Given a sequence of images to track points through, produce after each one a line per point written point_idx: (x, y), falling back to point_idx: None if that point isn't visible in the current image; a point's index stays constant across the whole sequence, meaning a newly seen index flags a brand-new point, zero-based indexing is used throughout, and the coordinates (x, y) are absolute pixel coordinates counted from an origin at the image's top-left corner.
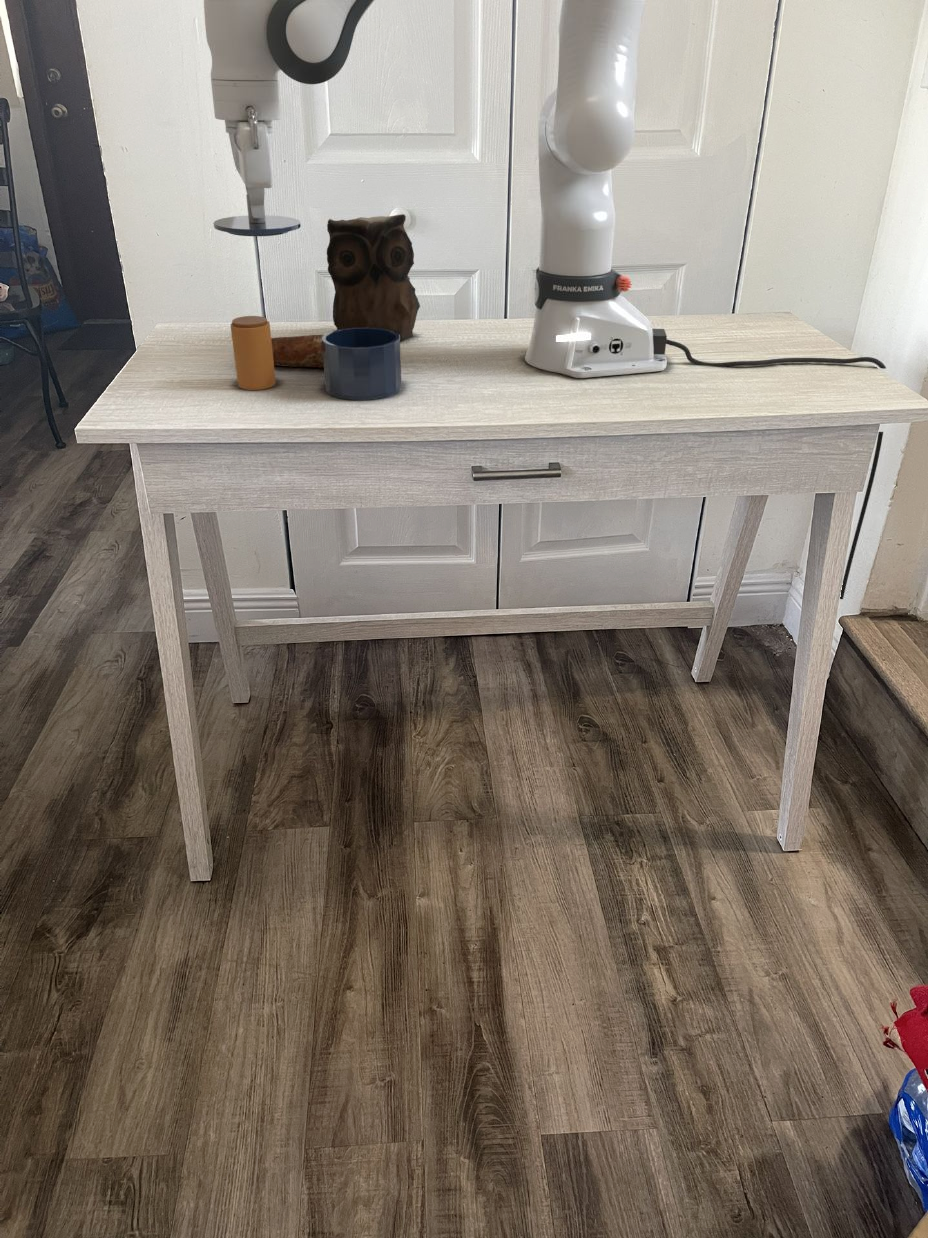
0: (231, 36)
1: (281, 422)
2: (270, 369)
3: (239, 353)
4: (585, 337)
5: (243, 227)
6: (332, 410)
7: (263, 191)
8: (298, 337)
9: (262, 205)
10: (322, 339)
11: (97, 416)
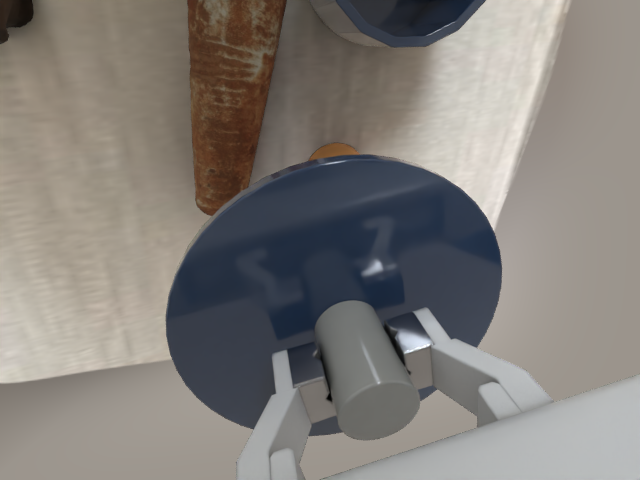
0: None
1: (509, 107)
2: (359, 154)
3: None
4: None
5: (457, 336)
6: (482, 24)
7: (526, 374)
8: (233, 120)
9: (449, 339)
10: (421, 45)
11: None
